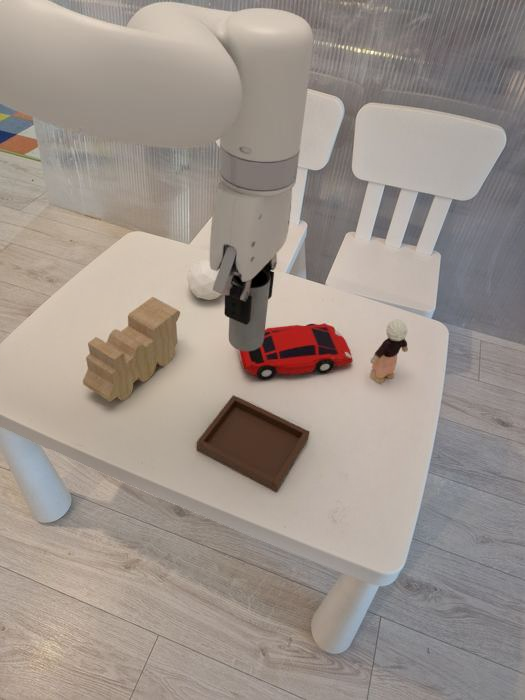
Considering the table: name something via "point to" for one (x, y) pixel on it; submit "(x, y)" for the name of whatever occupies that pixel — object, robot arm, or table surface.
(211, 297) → the geometric ball
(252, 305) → the grey hollow cylinder
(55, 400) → the table surface
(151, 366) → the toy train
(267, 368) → the toy car
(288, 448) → the tray
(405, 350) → the grandmother figurine
